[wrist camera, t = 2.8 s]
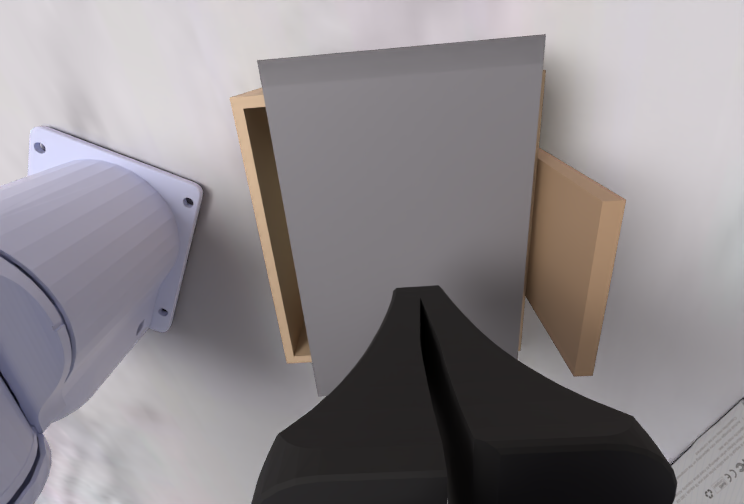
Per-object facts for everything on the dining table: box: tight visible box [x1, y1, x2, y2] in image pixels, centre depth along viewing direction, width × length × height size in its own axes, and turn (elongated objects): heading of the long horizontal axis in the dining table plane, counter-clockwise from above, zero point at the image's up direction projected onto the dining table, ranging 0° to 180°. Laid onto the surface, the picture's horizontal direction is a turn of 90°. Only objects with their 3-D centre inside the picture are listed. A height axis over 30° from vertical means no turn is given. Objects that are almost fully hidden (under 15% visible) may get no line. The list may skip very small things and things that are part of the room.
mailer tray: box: [230, 70, 626, 376], centre depth 17 cm, size 12×12×9 cm
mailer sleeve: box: [257, 34, 546, 396], centre depth 19 cm, size 9×14×6 cm, turn 5°
